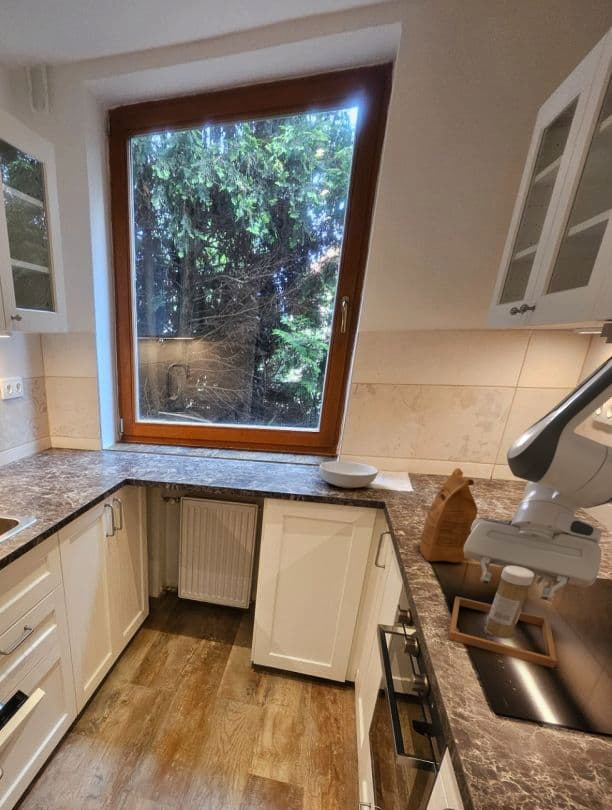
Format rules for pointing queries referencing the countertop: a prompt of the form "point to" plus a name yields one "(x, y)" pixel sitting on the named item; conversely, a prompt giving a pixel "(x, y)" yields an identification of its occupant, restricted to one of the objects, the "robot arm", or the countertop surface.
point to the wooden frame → (501, 648)
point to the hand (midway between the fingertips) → (514, 590)
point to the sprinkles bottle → (508, 601)
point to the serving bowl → (347, 474)
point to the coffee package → (449, 520)
